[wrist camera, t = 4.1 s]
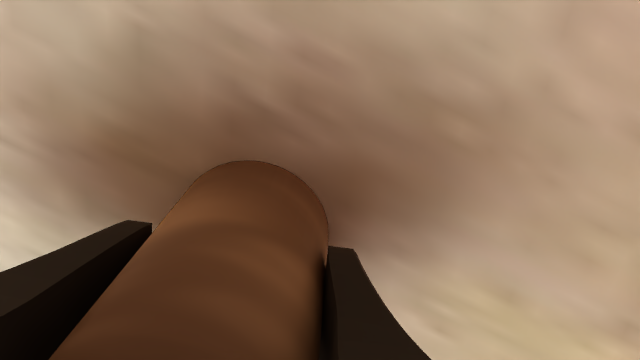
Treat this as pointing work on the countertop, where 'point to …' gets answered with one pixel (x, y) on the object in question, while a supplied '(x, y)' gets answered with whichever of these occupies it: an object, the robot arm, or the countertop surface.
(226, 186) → the walnut cylinder
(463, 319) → the countertop surface
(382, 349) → the robot arm
